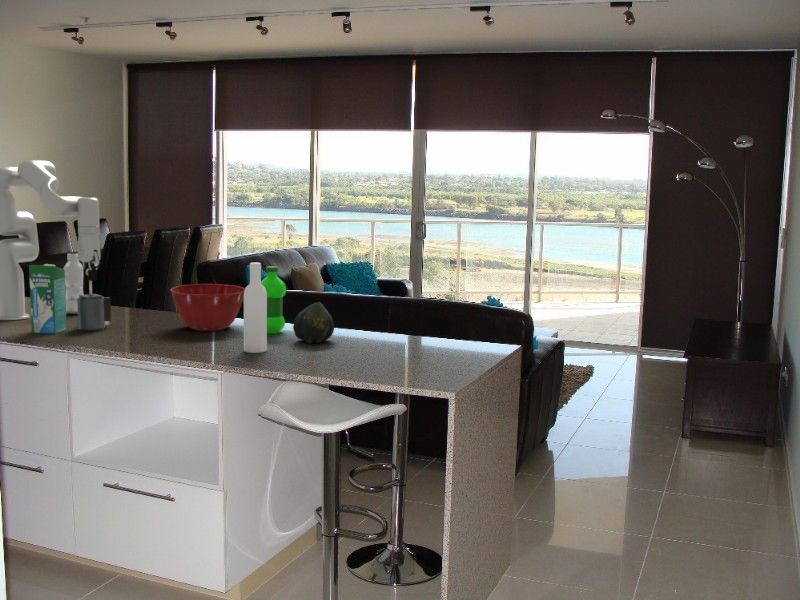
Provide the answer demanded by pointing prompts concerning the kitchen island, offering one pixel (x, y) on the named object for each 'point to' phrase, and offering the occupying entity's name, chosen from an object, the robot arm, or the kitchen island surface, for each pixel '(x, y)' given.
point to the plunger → (89, 284)
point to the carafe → (93, 312)
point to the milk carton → (47, 299)
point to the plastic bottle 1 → (73, 282)
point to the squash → (314, 324)
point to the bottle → (255, 313)
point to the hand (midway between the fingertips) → (90, 279)
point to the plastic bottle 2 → (274, 300)
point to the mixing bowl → (208, 305)
